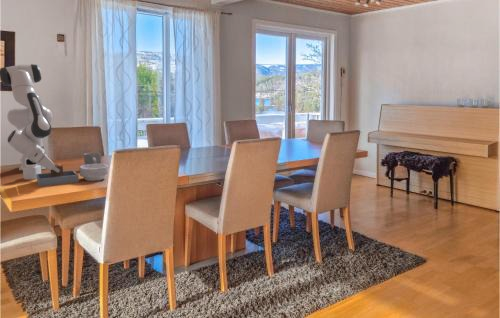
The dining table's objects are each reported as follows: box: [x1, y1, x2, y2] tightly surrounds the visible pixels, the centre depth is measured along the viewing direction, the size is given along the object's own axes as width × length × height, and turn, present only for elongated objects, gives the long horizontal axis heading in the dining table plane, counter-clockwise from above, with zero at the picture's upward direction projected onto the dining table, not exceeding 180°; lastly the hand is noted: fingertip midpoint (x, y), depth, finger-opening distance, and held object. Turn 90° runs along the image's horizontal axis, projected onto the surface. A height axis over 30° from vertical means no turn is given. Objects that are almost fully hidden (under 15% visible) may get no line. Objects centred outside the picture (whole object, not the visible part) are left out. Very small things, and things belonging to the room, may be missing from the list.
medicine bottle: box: [22, 158, 42, 180], centre depth 243 cm, size 7×7×12 cm
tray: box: [36, 169, 80, 188], centre depth 234 cm, size 15×20×8 cm
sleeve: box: [50, 164, 64, 178], centre depth 234 cm, size 6×6×9 cm
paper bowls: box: [79, 163, 109, 182], centre depth 241 cm, size 15×15×8 cm
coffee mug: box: [83, 152, 102, 165], centre depth 268 cm, size 13×10×10 cm
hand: (58, 170), depth 234 cm, fingers closed on sleeve, 6 cm apart
